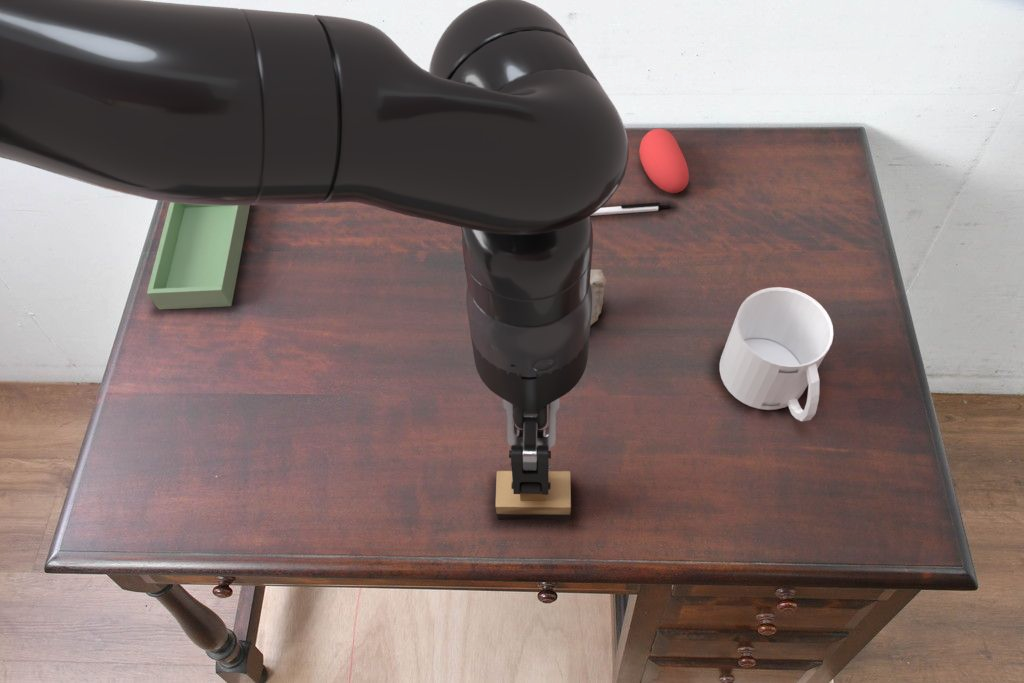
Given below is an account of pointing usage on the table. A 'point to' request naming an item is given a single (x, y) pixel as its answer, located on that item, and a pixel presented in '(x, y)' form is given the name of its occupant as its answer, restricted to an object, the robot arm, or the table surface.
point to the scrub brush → (534, 499)
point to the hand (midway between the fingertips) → (533, 430)
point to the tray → (198, 256)
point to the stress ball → (664, 161)
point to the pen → (630, 209)
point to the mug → (777, 351)
